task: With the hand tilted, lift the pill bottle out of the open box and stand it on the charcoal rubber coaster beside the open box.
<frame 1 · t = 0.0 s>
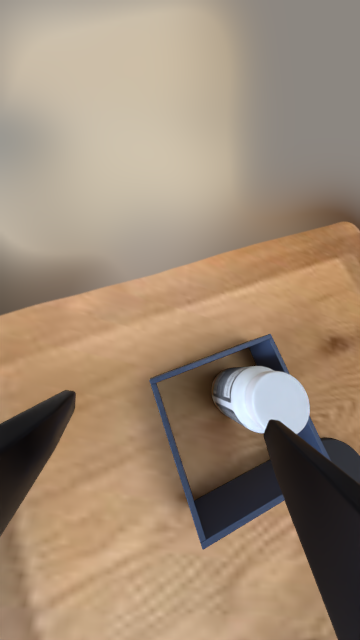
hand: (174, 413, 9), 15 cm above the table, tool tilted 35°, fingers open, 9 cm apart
coaster: (332, 480, 23), on the table
pill bottle: (231, 391, 24), resting in open box
open box: (224, 413, 23), on the table
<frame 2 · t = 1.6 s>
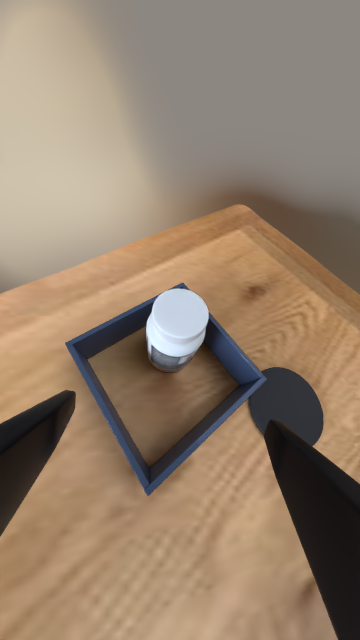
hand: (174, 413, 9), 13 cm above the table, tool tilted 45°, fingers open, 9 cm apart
coaster: (284, 405, 23), on the table
pill bottle: (169, 351, 24), resting in open box
open box: (165, 372, 23), on the table
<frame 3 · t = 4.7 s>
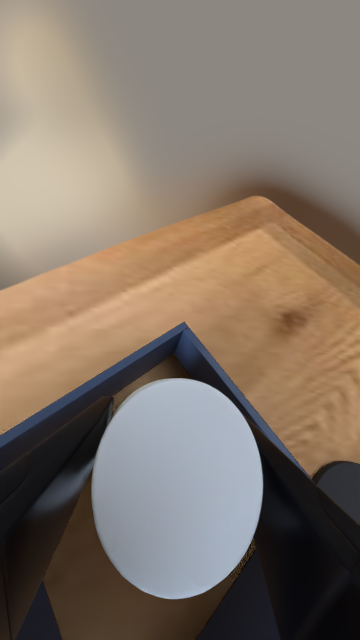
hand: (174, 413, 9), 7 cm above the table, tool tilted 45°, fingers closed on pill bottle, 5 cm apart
pill bottle: (160, 437, 14), resting in open box, touching gripper
open box: (152, 488, 12), on the table
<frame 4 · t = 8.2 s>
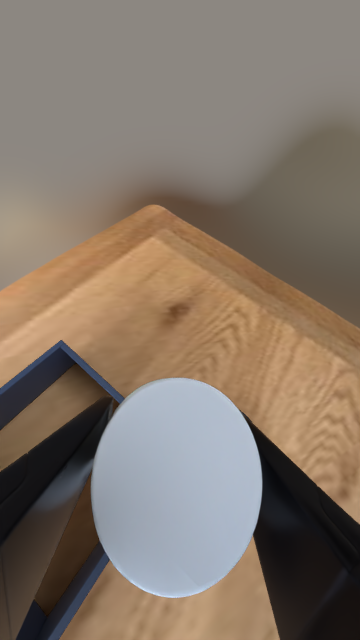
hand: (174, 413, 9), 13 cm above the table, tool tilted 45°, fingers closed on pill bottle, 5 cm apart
pill bottle: (159, 437, 14), point 6 cm above the table, touching gripper
open box: (66, 459, 18), on the table
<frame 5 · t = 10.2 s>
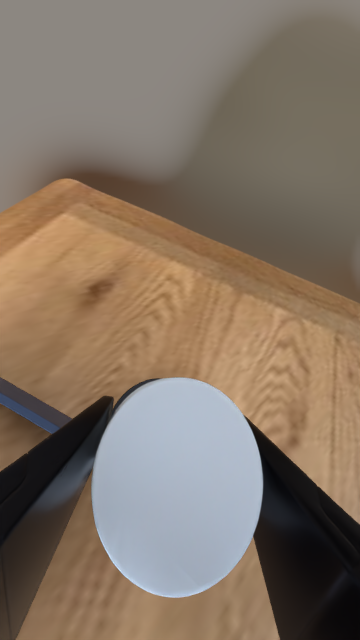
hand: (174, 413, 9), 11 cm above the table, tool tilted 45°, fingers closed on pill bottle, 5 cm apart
pill bottle: (160, 437, 14), point 4 cm above the table, touching gripper
when the fingers open (7 cm above the table, at t = 11.7 s): pill bottle stays where it is, resting on coaster.
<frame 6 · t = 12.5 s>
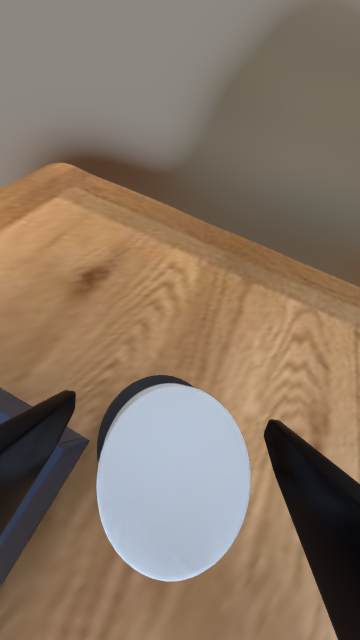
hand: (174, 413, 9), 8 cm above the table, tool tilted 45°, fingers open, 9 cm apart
coaster: (159, 435, 15), on the table
pill bottle: (159, 438, 15), resting on coaster
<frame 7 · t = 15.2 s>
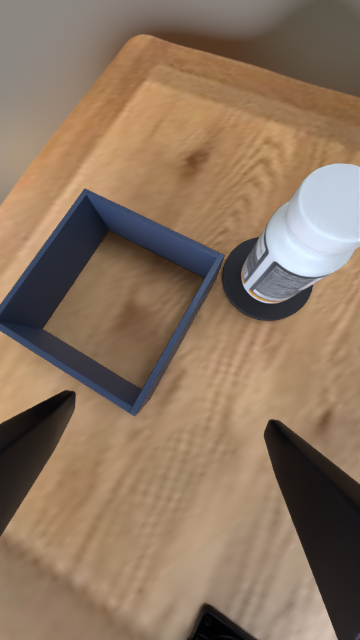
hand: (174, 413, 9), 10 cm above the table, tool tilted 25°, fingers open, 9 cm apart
coaster: (265, 278, 20), on the table
pill bottle: (266, 278, 20), resting on coaster
open box: (126, 304, 20), on the table
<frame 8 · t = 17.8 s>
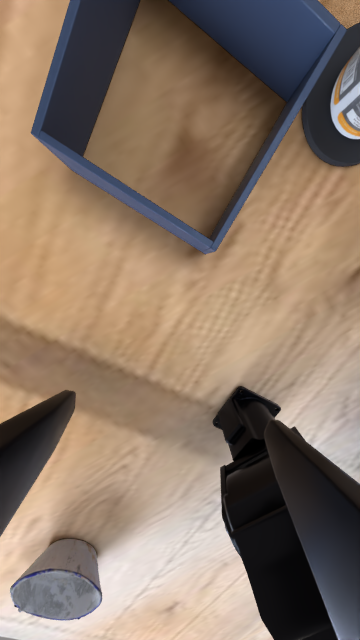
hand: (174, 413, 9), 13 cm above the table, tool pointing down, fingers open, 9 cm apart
coaster: (355, 102, 16), on the table
pill bottle: (358, 101, 16), resting on coaster
bowl: (72, 551, 33), on the table
open box: (180, 136, 16), on the table
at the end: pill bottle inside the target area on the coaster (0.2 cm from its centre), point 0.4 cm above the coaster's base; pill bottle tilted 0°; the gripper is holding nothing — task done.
